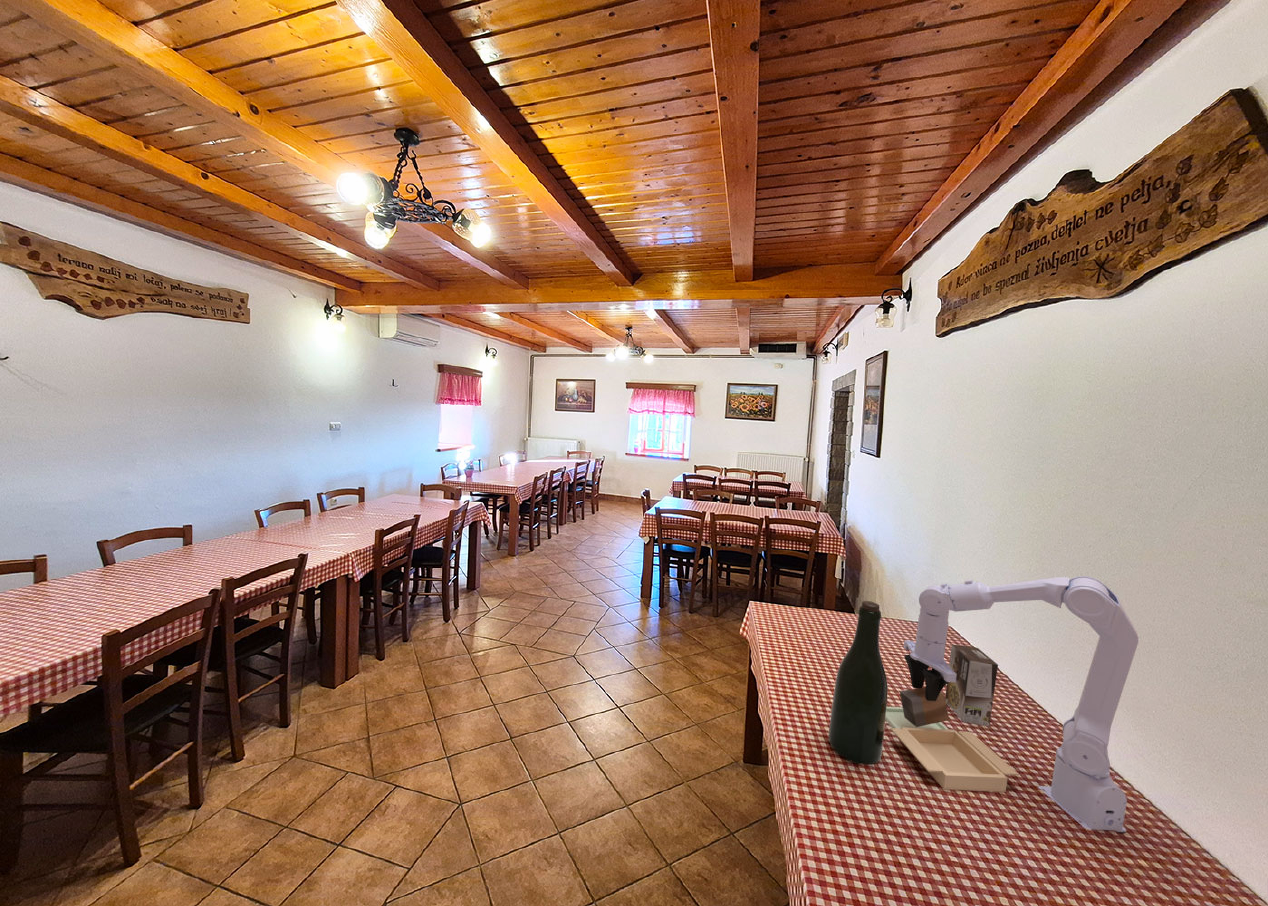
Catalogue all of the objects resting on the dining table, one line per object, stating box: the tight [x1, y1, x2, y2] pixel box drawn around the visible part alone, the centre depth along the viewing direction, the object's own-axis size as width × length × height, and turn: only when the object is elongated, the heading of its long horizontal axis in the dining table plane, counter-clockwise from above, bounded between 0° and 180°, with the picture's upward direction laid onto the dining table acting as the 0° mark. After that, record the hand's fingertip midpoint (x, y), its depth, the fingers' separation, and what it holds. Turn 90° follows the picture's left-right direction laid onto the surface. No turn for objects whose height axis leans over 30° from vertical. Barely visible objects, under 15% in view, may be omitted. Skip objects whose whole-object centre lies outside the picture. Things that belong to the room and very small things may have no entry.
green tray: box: [885, 706, 950, 730], centre depth 107 cm, size 10×13×1 cm
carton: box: [890, 727, 1019, 793], centre depth 94 cm, size 14×19×4 cm
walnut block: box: [899, 686, 950, 727], centre depth 104 cm, size 4×8×6 cm, turn 93°
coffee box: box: [945, 644, 999, 727], centre depth 112 cm, size 9×6×16 cm
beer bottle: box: [828, 600, 889, 765], centre depth 96 cm, size 10×10×33 cm
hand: (923, 693), depth 104 cm, fingers open, 4 cm apart
